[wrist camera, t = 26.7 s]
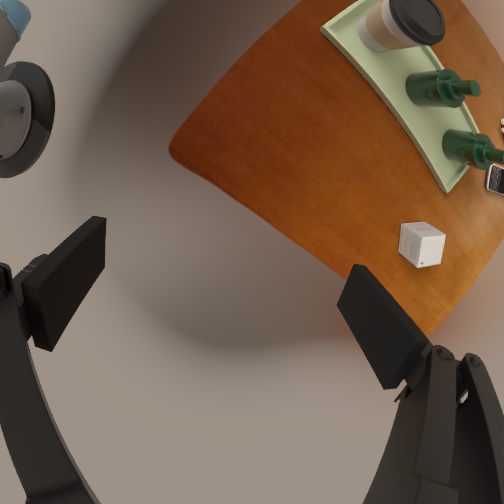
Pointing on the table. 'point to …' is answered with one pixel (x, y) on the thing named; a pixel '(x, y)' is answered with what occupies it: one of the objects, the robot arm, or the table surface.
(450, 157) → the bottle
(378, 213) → the table surface
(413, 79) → the bottle mid
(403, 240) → the product box
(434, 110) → the tray
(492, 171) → the cell phone
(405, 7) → the coffee cup
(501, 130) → the elephant figurine
